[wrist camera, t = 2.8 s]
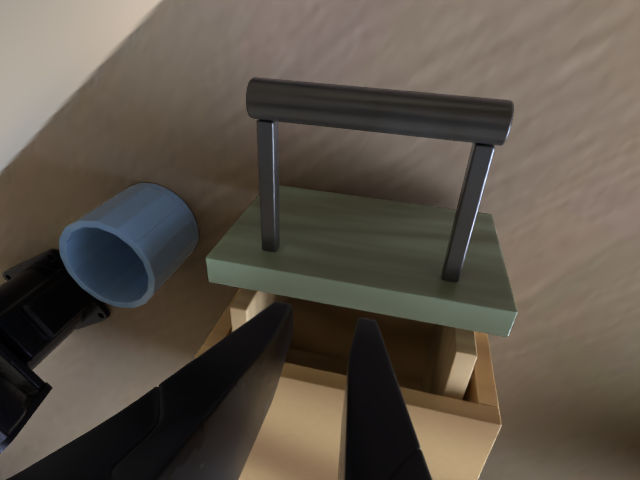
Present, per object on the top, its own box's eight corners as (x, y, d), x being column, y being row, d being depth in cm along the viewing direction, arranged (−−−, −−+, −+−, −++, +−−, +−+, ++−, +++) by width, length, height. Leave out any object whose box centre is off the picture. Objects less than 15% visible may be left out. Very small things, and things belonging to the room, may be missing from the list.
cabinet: (265, 247, 25) (193, 357, 18) (479, 282, 23) (502, 425, 15) (270, 383, 32) (219, 506, 24) (436, 421, 30) (438, 568, 22)
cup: (154, 269, 28) (106, 317, 24) (101, 200, 26) (39, 239, 22) (215, 246, 26) (174, 294, 22) (163, 168, 24) (106, 206, 20)
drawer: (264, 51, 18) (181, 80, 12) (533, 72, 16) (593, 119, 10) (272, 339, 28) (227, 436, 22) (444, 374, 26) (448, 492, 20)
